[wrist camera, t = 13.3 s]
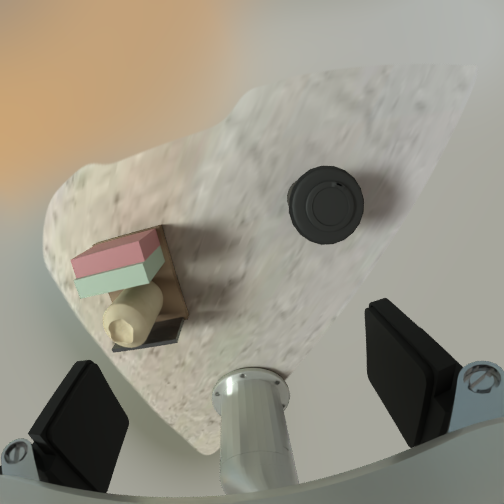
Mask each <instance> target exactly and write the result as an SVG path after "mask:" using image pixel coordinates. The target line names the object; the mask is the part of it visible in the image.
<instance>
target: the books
mask: <svg viewBox="0 0 504 504" xmlns="http://www.w3.org/2000/svg"><path fill="white" fill-rule="evenodd" d="M164 262H165V259H164V256H163V253H162V249H161V246H160V242H159V239H158V235H157V232H156V228H155V229H151V230H148V231H144V232H140V233H137V234H133V235H129V236H126V237H122V238H119V239H115V240H112V241H108V242H105V243H101V244H98V245H95V246H93V247H92V248H90V249H88V250H86V251H85V252H83V253H81V254H80V255H78V256H76V257H75V258H73V259H71V263H72V266H73V269H74V272H75V275H76V279H75V280H74V283H75V286H76V288H77V291H78V294H79V296H80V299H81V298H85V297H90V296H95V295H99V294H104V293H108V292H113V291H117V290H122V289H126V288H131V287H135V286H140V285H144V284H148V283H150V281H151V280H152V279H153V277H154V276H155V275H156V273H157V272H158V270H159V269H160V268H161V266H162V265H163V264H164Z"/></svg>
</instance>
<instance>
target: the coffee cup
mask: <svg viewBox="0 0 504 504" xmlns="http://www.w3.org/2000/svg"><path fill="white" fill-rule="evenodd" d="M287 202H288V205H289V214H290V217H291V220H292V223H293V225H294V227H295V228H296V229H297V231H298V232H299V233H300V235H302V236H303V237H305V238H306V239H308V240H309V241H311V242H314V243H318V244H321V245H323V244H334V243H337V242H340V241H343V240H344V239H346V238H347V237H348V236H350V235H351V234H352V233H353V232H354V231H355V229H356V228H357V226H358V225H359V223H360V221H361V218H362V214H363V209H364V199H363V195H362V192H361V188H360V186H359V185H358V183H357V182H356V180H355V179H354V177H352V176H351V175H350V174H349V173H347V172H346V171H345V170H343V169H340V168H337V167H335V166H320V167H316V168H313V169H310V170H309V171H307V172H306V173H305V174H303V175H302V176H301V177H300V178H299V179H298V180H297V181H296V182H295V183H293V184H292V186H291V187H290V189H289V191H288V194H287Z"/></svg>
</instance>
